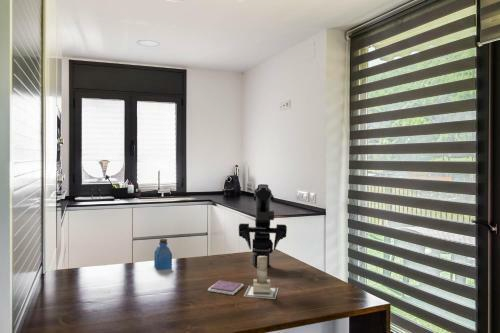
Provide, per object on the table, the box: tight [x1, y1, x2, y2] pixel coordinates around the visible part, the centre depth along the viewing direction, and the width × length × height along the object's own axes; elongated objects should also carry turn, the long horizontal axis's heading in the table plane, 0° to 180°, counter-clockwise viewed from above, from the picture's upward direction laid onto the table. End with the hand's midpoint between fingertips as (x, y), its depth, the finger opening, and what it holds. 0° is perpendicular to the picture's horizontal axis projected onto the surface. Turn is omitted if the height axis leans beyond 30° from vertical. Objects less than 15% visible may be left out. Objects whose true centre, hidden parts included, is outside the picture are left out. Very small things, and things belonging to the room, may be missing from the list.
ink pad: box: [207, 280, 245, 296], centre depth 142 cm, size 10×10×1 cm
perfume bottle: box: [153, 238, 173, 271], centre depth 167 cm, size 6×6×12 cm
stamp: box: [252, 256, 271, 295], centre depth 139 cm, size 6×6×12 cm
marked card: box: [243, 285, 279, 300], centre depth 139 cm, size 11×11×1 cm
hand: (262, 249), depth 147 cm, fingers open, 9 cm apart
